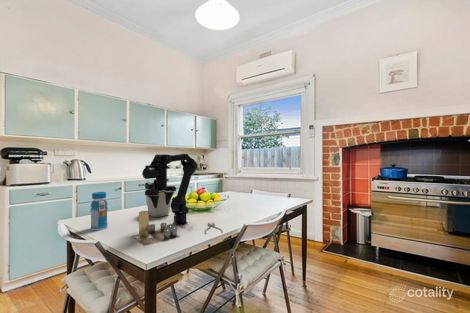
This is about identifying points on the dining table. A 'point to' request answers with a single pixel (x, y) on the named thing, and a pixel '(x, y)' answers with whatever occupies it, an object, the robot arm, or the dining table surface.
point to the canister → (158, 206)
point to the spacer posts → (164, 230)
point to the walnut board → (152, 238)
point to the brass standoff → (143, 224)
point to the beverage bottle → (99, 211)
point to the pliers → (213, 227)
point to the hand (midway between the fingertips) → (161, 206)
